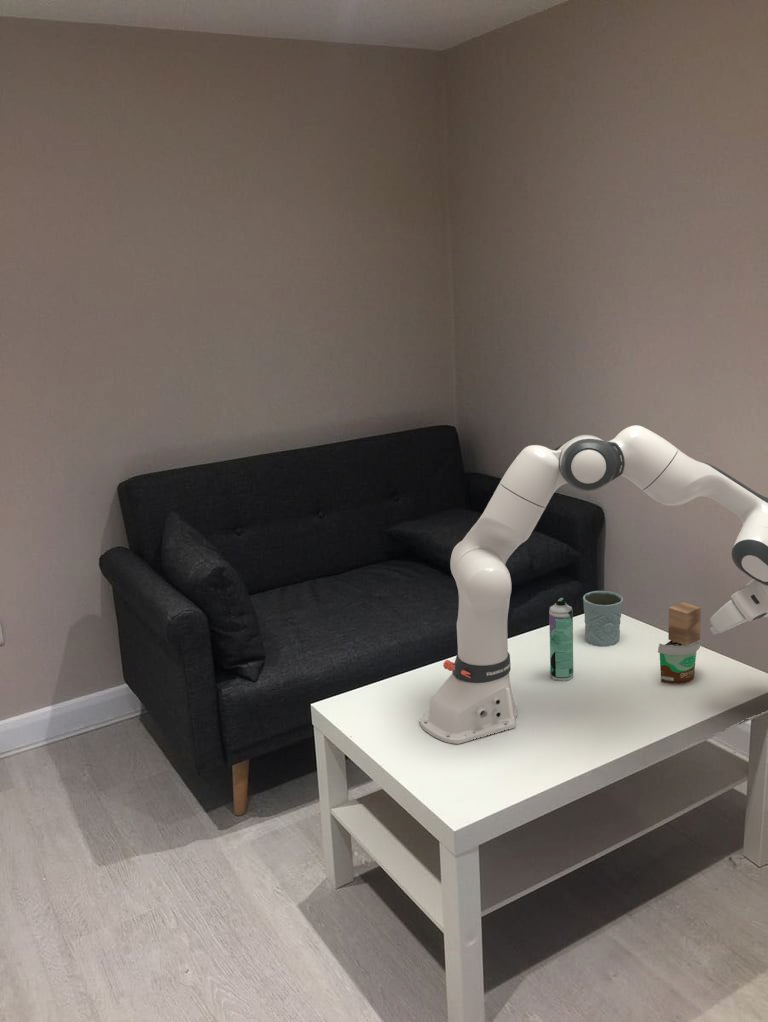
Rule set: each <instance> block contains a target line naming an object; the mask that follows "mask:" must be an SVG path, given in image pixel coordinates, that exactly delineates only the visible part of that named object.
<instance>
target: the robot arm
mask: <svg viewBox="0 0 768 1022" xmlns="http://www.w3.org/2000/svg"><path fill="white" fill-rule="evenodd" d="M619 477H624V478H626V479H627V480H629V481H630V482H631V483H632V484H634V485H635V486H636V487H637V488H639V489H640V490H641V491H643V492H644V493H645V494H646V495H647V496H648V497H649V498H651V499H652V500H654V501H656V502H658V503H660V504H661V505H664V506H667V507H668V506H670V507H671V506H673V507H674V506H680V505H684V504H686V503H689V502H691V501H692V500H694V499H696V498H699V497H705V498H709V499H711V500H713V501H714V502H716V503H718V504H719V505H721V506H722V507H724V508H726V509H727V510H729V511H730V512H732V513H733V514H735V515H736V516H738V517H739V519H740V520H741V524H742V526H741V528H740V532H739V533H738V535H737V536H736V539H735V542H734V544H733V547H732V550H731V560H732V562H733V563H734V565H735V566H736V567H737V569H738V570H740V571H741V572H742V573H744V574H745V575H747V576H748V577H750V578H752V579H751V580H750V581H749V582H747V584H745V586H744V587H742V588H740V589H739V590H737V591H735V592H734V593H732V594H731V595H730V598H731V599H730V600H729V601H727V602H726V603H725V604H723V606H721V607H720V608H719V609H718V610H717V611H716V612H715V613H713V615H711V617H710V619H709V622H710V624H711V625H712V626H711V627H710V628H709V630H710V631H711V633H712V634H713V635H717V634H722V633H724V632H727V631H728V630H730V629H732V628H734V627H737V626H739V625H741V624H744V623H746V622H752V621H756V620H758V619H761V618H768V497H766V496H764V495H762V494H760V493H758V492H756V491H754V490H753V489H751V488H750V487H749V486H747V485H745V484H744V483H742V482H740V481H739V480H737V479H736V478H734V477H733V476H731V475H729V474H728V473H726V472H725V471H723V470H722V469H719V468H718V467H716V466H714V465H712V464H710V463H708V462H705V461H698V460H696V459H695V458H692V457H690V456H689V455H687V454H685V453H684V452H683V451H681V450H680V449H679V448H677V447H676V446H674V445H673V444H672V443H671V442H670V441H668V440H666V439H665V438H664V437H662V436H661V435H658V433H655V432H654V431H651V430H650V429H648V428H646V427H644V426H641V425H639V424H638V425H630V426H627V427H626V428H624V429H623V430H621V431H620V432H618V434H616V436H615V437H614V438H612V439H610V440H603V439H602V438H599V437H597V436H595V435H592V434H580V435H577V436H574V437H572V438H570V439H568V440H567V441H565V442H564V443H562V444H560V445H558V446H557V447H555V448H554V449H551V448H549V447H547V446H543V445H540V444H532V445H527V446H525V447H524V448H523V449H522V450H521V452H519V454H517V456H516V458H515V459H514V460H513V462H512V463H510V465H509V467H508V469H506V472H505V473H504V474H503V477H502V478H501V479H500V481H499V482H498V483H499V484H498V485H497V487H496V489H495V490H494V492H493V495H492V496H491V498H490V500H489V501H488V503H487V505H486V507H485V508H484V511H483V513H482V514H481V515H480V517H479V518H478V519H477V521H476V523H474V524H473V526H472V527H471V528H470V530H469V531H468V532H467V533H466V535H465V536H464V537H463V538H462V540H461V541H459V542H458V543H457V544H456V545H455V546H454V547H453V549H452V551H451V557H450V564H449V565H450V567H449V568H450V571H451V575H452V576H453V579H454V580H455V584H456V587H457V590H458V592H457V593H458V611H457V613H458V614H457V621H456V637H457V638H456V639H457V654H456V656H455V660H454V661H453V662H452V661H451V660H449V659H446V660H444V662H443V665H442V666H443V668H444V669H445V670H448V671H450V672H452V673H451V674H450V675H449V677H448V678H447V679H446V680H445V681H444V682H443V683H442V684H441V686H440V687H439V688H438V689H437V690H436V691H435V692H434V694H433V695H432V696H431V698H430V702H429V711H428V712H426V713H425V714H423V715H421V716H420V717H419V725H420V727H421V728H422V729H423V730H424V731H425V732H426V733H428V734H429V735H431V736H432V737H434V738H436V739H438V740H441V741H442V742H446V743H449V744H454V745H460V744H464V743H467V742H470V741H474V740H477V739H480V737H481V738H484V737H487V735H488V736H490V734H491V735H494V733H495V734H498V733H500V732H501V731H502V732H504V730H505V731H509V730H512V729H515V728H516V726H517V722H516V718H517V716H518V709H517V706H516V703H515V700H514V695H513V690H512V685H511V678H510V672H511V669H512V668H511V654H510V653H509V647H508V645H509V644H508V640H509V639H508V616H509V615H508V614H509V609H510V600H511V594H512V578H511V574H510V571H509V569H508V568H507V565H506V563H507V561H508V559H509V558H510V557H511V555H512V554H513V553H514V552H515V550H517V549H518V547H519V546H520V545H522V544H523V543H525V542H526V541H527V540H528V539H529V538H530V536H531V535H532V532H533V531H534V529H535V528H536V526H537V524H538V522H539V521H540V519H541V517H542V515H543V513H544V512H545V510H546V509H547V506H548V504H549V502H550V500H551V499H552V497H553V495H554V493H556V491H557V490H558V489H559V488H560V487H561V486H563V485H565V484H566V485H567V484H569V485H570V486H571V487H573V488H574V489H576V490H578V491H582V492H583V491H584V492H593V491H597V490H600V489H601V488H603V487H605V486H607V485H608V484H610V483H611V482H612V481H614V480H615V479H617V478H619ZM508 729H509V730H508ZM502 732H501V733H502ZM476 738H477V739H476ZM473 739H474V740H473Z"/></svg>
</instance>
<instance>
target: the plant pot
mask: <svg viewBox="0 0 768 1022" xmlns="http://www.w3.org/2000/svg"><path fill="white" fill-rule="evenodd" d="M582 600H583V613H584V634H585V641H586V642H587V643H588V644H589V643H590V645H591V644H592V646H595V645H596V647H603V646H604V647H611V646H610V645H612V646H615V645H617V644H618V643H619V642H620V631H621V630H620V627H621V618H622V612H623V611H622V610H623V601H624V598H623V596H621V595H620V594H619V593H617V592H613V591H606V590H594V591H590V592H587V593H585V594H584V595H583V597H582ZM617 642H618V643H617ZM616 643H617V644H616ZM614 644H615V645H614Z"/></svg>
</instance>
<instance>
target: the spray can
mask: <svg viewBox="0 0 768 1022" xmlns="http://www.w3.org/2000/svg"><path fill="white" fill-rule="evenodd" d="M548 612H549V613H548V614H549V615H548V616H549V617H548V619H549V663H550V664H549V665H550V668H549V669H550V670H549V671H550V673H549V674H550V678H551V679H552V680H553V681H558V682H559V681H560V682H567V681H569V680H572V679H573V678H574V627H573V626H574V621H573V620H574V618H573V615H574V613H573V607H572V606H570V605H569V604H567V602H566V601H565V598H564V597H557V599H556V602H554V604H553V605H551V606H550V607H549V611H548Z"/></svg>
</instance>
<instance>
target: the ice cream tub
mask: <svg viewBox="0 0 768 1022" xmlns="http://www.w3.org/2000/svg"><path fill="white" fill-rule="evenodd" d="M700 647H701V645H700V640H699V641H696V642H694V643H692V644H689V645H687V646H685V645H682V644H680V643H677V642H674V641H671V640H669V641H667V643H665V644H663V643H659V644H658V649H657V653H659V667H660V681H661V682H662V683H665V684H669V685H670V684H672V685H680V684H681V685H682V684H687V683H690V682H692V681H693V680H694V678H695V677H694V676H695V668H696V662H697V661H696V659H697V652H698V650H699V649H700Z"/></svg>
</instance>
